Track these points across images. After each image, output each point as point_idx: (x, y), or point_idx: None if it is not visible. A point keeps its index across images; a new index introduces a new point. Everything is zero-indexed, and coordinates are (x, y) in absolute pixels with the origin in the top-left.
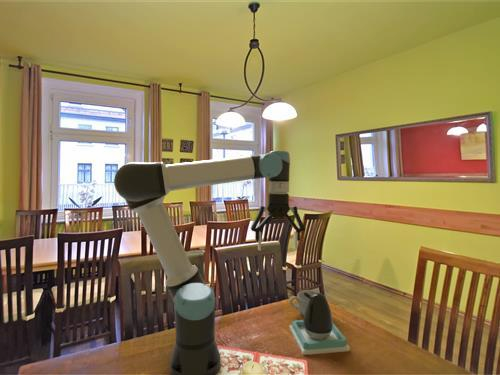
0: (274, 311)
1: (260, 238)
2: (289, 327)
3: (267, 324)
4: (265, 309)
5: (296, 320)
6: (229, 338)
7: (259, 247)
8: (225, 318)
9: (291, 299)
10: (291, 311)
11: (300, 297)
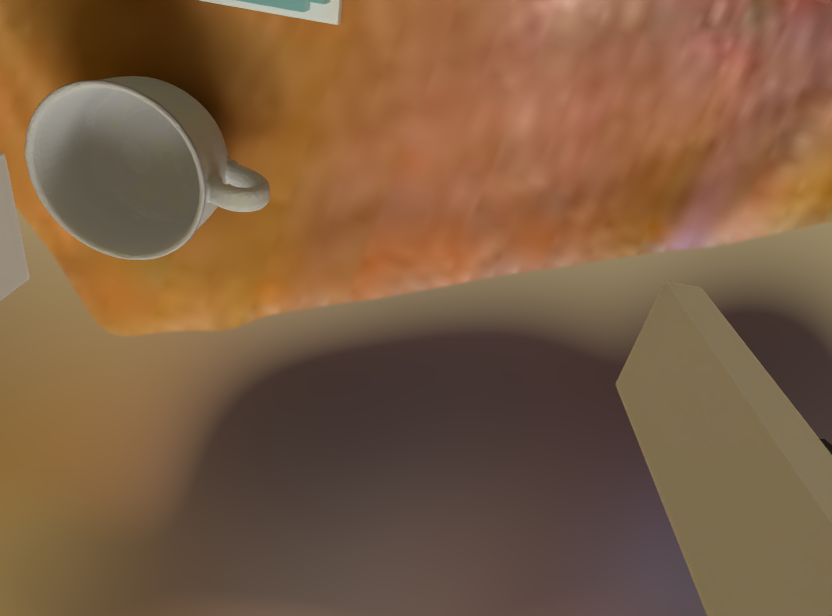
0: (360, 225)
1: (796, 449)
2: (339, 21)
3: (448, 104)
4: (400, 258)
5: (290, 7)
6: (710, 21)
7: (717, 316)
8: (639, 229)
9: (256, 190)
10: None
11: (184, 231)
